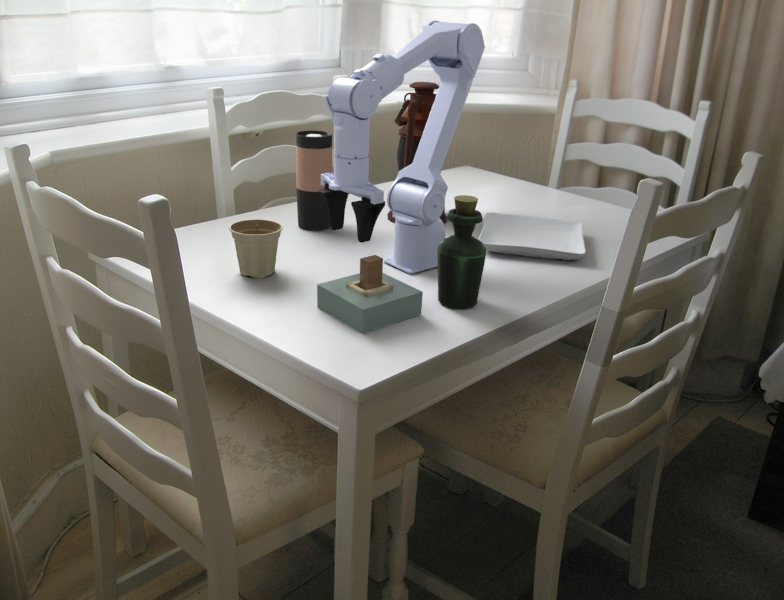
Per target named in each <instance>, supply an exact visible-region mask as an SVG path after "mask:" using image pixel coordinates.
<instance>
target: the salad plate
mask: <svg viewBox="0 0 784 600" xmlns="http://www.w3.org/2000/svg"><path fill="white" fill-rule="evenodd" d="M481 229H482V230H481V232H480V234H479V235H478V237H477V239H478V240H480V241H481V242H482V243H483V244H484V245H485V247H486V249H487V252H493V253H496V252H497V254H502V253H503V255H510V254H513V255H512V256H519V255H523V256H522V257H528V256H533V257H532V258H538V257H543V258H542V259H548V258H553V259H552V260H558V259H562V260H563V261H564V260H566V261H570V260H571V261H572V260H577V259H581V258H582V257H584V256H585V254H586V251H587V249H586V245H585V240H584V226H583V224H582V223H581V222H577V221H571V220H562V219H555V218H546V217H539V216H538V217H537V216H529V215H519V214H510V213H509V214H508V213H507V214H506V213H498V212H495V213H494V212H486V213H485V216H484V222H483V225H482V228H481ZM562 260H561V261H562Z"/></svg>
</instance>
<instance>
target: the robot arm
mask: <svg viewBox="0 0 784 600" xmlns="http://www.w3.org/2000/svg"><path fill="white" fill-rule="evenodd" d="M485 48H486V45H485V41H484V36H483V32H482V29H481V27H480V26H479V25H478V24H476V23H463V22H462V23H460V22H459V23H458V22H448V21H439V20H432V21H431V20H430V21H429V22H427V24H425V25H423V26H421V27H420V30H419V34H417V35H416V36H415V37H413V38H412V39H411V40H410V41H409V42H407V44H405V45H404V46H403V47H401V48H400V49H399V50H398V51H397V52H395V53H394V54H393V55H391V54H388V53H384V54H382V53H376V54H375V55H374V56H372V59H373V60H372V61H370V62H369V63H367V64H366V65H365V66H363V67H361V68H360V69H359V68H357V69H355V70H353V72H352V73H353V74H352V75H351V76H349V77H339V78H337V79H336V80H335V81H334V82H333V83H331V85H330V87H329V88H328V92H327V95H325V103H326V106H327V108H328V110H329V112H330V115H331V117H330V118H331V122H332V125H333V172H332V173H324V174H321V185H323V186H325V187H324V189H320V190H318V195H319V196H320V198H321V200H322V202H323V204H324V206H325V209H326V212H327V216H328V219H329V223H330V231H334V232H335V231H338V230H343V228H344V225H345V216H346V215H345V213H346V212H345V211H346V207H347V201H348V197H349V195H352V196H355V197H357V198H361V200H356V201H351V202H350V204H351V205H350V206H351V207H352V210H353V213H354V216H355V221H356V235H357V240H358V241H357V242H358V243H361V244H362V243H366V242H370V241H371V239H372V236H373V231H374V228H375V225H376V222H377V220H378V218H379V216H380V214H381V212H382V210H383V209H385V207H386V204H387V207H388V209H389V211H390V210H391V211H393V217H394V218H395V223H394V242H393V243H394V244H393V245H394V246H393V256H392V257H388V258H383V263H385V264H387V265H390V266H391V267H394V268H397V269H399V270H401V271H403V272H405V273H407V274H416V273H419V272H422V271H423V272H424V271H427V270H430V269H434V268H438V261H437V248H438V245H439V243H440V242H441V240H443V239H445V238H446V233H447V232H446V226H445V224H444V223H443V222H442V220H441V219H440V218H439V217H440V216H441V215H442V213H443V210H444V207H445V205H446V194H447V191H448V189H449V187H448V185H447V183H446V180H445V179H444V178H443V177H442V176H443V175H442V174H441V173H440V172H442V170H441V169H443V165H444V163H445V160H446V157H447V154H448V152H449V149H450V146H451V144H452V140H453V138H454V135H455V131H456V130H457V129H456V128H457V126H458V124H459V121H460V118H461V116H462V115H461V114H462V112H463V109H464V107H465V104H466V101H467V98H468V97H469V93H470V90H471V87H472V83H473V80H474V78H475V77H476V74H477V71H478V68H479V66H480V63H481V59H482V57H483V55H484V54H483V53H484V51H485ZM427 61H428V62H429V64H430V66H431V68H432V69H433V71H434V73H435V74H436V75H438V76H439V78H440V79H439V80H440V84H439V89H437V91H436V94H437V95H436V98H435V101H434V103H433V106H432V109H431V112H430V115H429V118H428V120H427V123H426V126H425V129H424V132H423V134H422V137H421V140H420V143H419V146H418V149H417V151H416V154H415V157H414V160H413V163H412V164H411V165H409V166H407V167H405V168H404V169H402V170H400V171H399V170H398V174H397V175H396V178H395V180H394V181H393V183H392V184H391V185H390V187H389V189H388V192H387V195H386V201H385V200H384V198H385V197H384V196H385V190H382V189H380V188H378V186H375V185H374V184H373V183H372V182H370V181H369V176H370V175H369V169H370V131H371V130H370V128H371V127H370V125H371V122H370V120H371V117H373V116H374V115H375V114H376V112H377V109H378V108H379V105H380V103H381V102H382V100H383V99H384V98H386V97H387V96H388V95H390V94H391V93H392V92H394V91H395V90H396V89H398V88H399V87H401V86H402V85H403V83H404V80H405V74H407V73H409V72H411V71H412V70H414V69H416V67H418V66H420V65H421V64H423V63H425V62H427ZM418 184H423V185H427V186H429V187H426V186H422V185H418ZM445 208H446V207H445Z"/></svg>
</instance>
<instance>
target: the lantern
mask: <svg viewBox="0 0 784 600" xmlns="http://www.w3.org/2000/svg"><path fill="white" fill-rule="evenodd" d="M439 86H440V84H437V83H436V82H431V81H414V82H412V83H410V84H409V88H411V89H413V90H414V92H407V93H406V94H405V95H404V96H403V103H402V106H401V109H400V110H399V112H398V114H397V115H396V117H395V119H394V123H395V124H396V125H397V126H398V127H401V128H400V129H399V130H398V134H397V135H398V136H399V141H398V147H397V152H396V159H397V169H398V172H399V171H400V170H402V169H404V168H405V167H407V166H409V165H411V164H412V163H413V160H414V157H415V154H416V151H417V149H418V146H419V143H420V140H421V137H422V134H423V132H424V129H425V126H426V123H427V120H428V118H429V115H430V112H431V109H432V106H433V103H434V101H435V98H436V95H437V93H435V90H438V89H439ZM407 96H409V98H407ZM405 111H406V112H405ZM442 169H443V168H442ZM442 169H441V172H442ZM441 172H440V174H441ZM418 185H422V186H426V187H429V186H427V185H423V184H418ZM445 210H446V207H444V210H443V213H442V215H441V216H440V217H439V218H440V219H441V220H442V222H443V223H444V225H445V224H447V221H448V220H447V219H446V218H447V214H446V213H445V212H446V211H445ZM387 220H388V221H389V222H390V223H393V224H395V218H394V217H393V211H391V210H390V209H389V211H388V213H387Z"/></svg>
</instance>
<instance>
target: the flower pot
mask: <svg viewBox="0 0 784 600" xmlns="http://www.w3.org/2000/svg"><path fill="white" fill-rule="evenodd" d="M283 229H284V225H283V224H282V223H280V222H278V221H275V220H271V219H262V218H250V219H249V218H248V219H243V220H238V221H234V222H232V223H231V224H229V226H228V230H229V232H230V233H231V237H232V239H233V241H234V247H235V250H236V257H237V261H238V268H239V269H238V270H239V273H240V274H241V275H242V276H245V277H247V276H248V277H249V276H250V277H252V278H253V279H254V278H258V279H259V278H264V277H269V276H271V275H272V274H274V273H275V271H276V262H277V253H278V247H279V239H280V237H281V235H282V231H283Z"/></svg>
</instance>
